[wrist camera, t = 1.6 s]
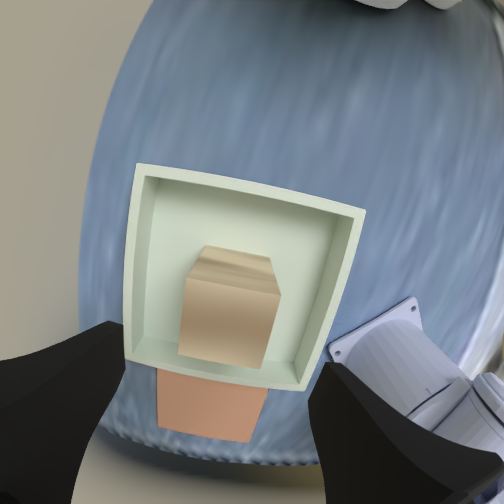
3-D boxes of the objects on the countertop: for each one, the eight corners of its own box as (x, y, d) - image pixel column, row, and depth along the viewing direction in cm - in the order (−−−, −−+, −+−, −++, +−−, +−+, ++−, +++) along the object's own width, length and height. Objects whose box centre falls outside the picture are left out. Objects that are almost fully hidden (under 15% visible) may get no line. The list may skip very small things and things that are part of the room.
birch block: (256, 313, 18) (260, 369, 12) (197, 302, 18) (177, 354, 12) (269, 257, 17) (281, 295, 11) (206, 244, 17) (186, 277, 11)
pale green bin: (297, 366, 20) (304, 391, 17) (138, 336, 19) (124, 358, 16) (347, 205, 17) (366, 210, 14) (154, 165, 16) (136, 162, 13)
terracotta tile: (248, 439, 22) (248, 442, 22) (159, 423, 21) (157, 426, 21) (270, 377, 20) (271, 381, 19) (159, 357, 19) (157, 360, 19)
